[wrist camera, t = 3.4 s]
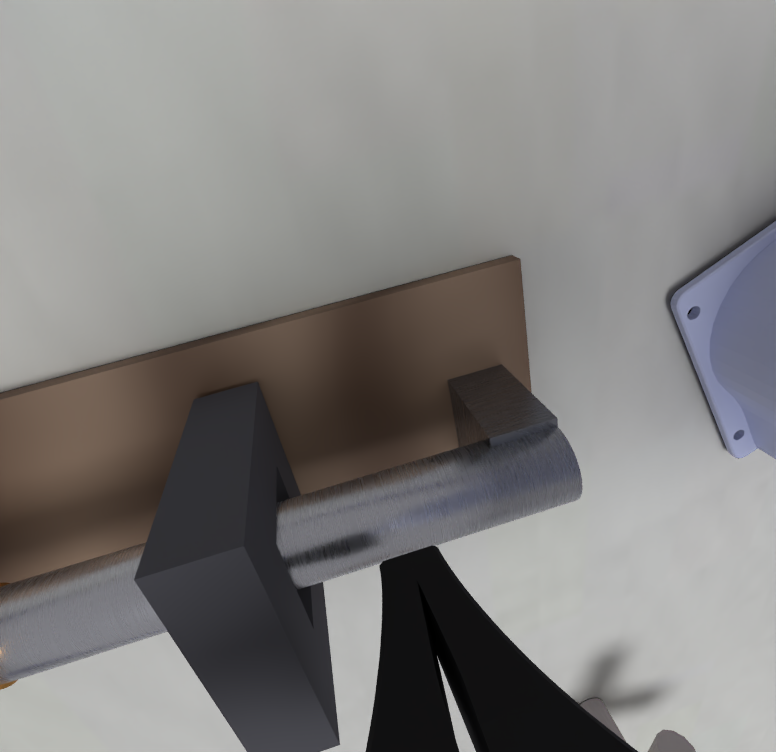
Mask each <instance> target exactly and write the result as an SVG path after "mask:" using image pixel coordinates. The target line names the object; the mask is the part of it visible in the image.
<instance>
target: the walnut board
mask: <svg viewBox="0 0 776 752" xmlns="http://www.w3.org/2000/svg"><path fill="white" fill-rule="evenodd" d="M500 364H502V365H503V366H504V367H505V368H506V369H507V370H508V371H509V372H510V373H511V374H512V375H513V376H514V377H515V378H516V379H518V380H519V381H520V382H521V383H522V384H523V385H524V386H525V387H526V388H527V389H528V390H529V391H530V392H531V382H530V370H529V358H528V345H527V333H526V321H525V309H524V297H523V285H522V273H521V261H520V259H519V258H517V257H515V256H513V255H512V256H508V257H504V258H500V259H497V260H493V261H489V262H486V263H482V264H478V265H474V266H471V267H467V268H463V269H460V270H456V271H452V272H448V273H445V274H441V275H437V276H434V277H430V278H426V279H422V280H419V281H415V282H411V283H408V284H404V285H400V286H396V287H393V288H389V289H385V290H382V291H378V292H374V293H370V294H367V295H363V296H359V297H356V298H352V299H348V300H344V301H341V302H337V303H333V304H330V305H326V306H322V307H318V308H315V309H311V310H307V311H304V312H300V313H296V314H292V315H289V316H285V317H281V318H278V319H274V320H270V321H266V322H263V323H259V324H255V325H252V326H248V327H244V328H240V329H237V330H233V331H229V332H226V333H222V334H218V335H214V336H211V337H207V338H203V339H200V340H196V341H192V342H188V343H185V344H181V345H177V346H174V347H170V348H166V349H163V350H159V351H155V352H151V353H148V354H144V355H140V356H137V357H133V358H129V359H125V360H122V361H118V362H114V363H111V364H107V365H103V366H99V367H96V368H92V369H88V370H85V371H81V372H77V373H73V374H70V375H66V376H62V377H59V378H55V379H51V380H47V381H44V382H40V383H36V384H33V385H29V386H25V387H21V388H18V389H14V390H10V391H7V392H3V393H0V583H14V582H17V581H20V580H24V579H27V578H30V577H33V576H37V575H40V574H43V573H47V572H50V571H53V570H57V569H60V568H63V567H66V566H70V565H73V564H76V563H80V562H83V561H86V560H89V559H93V558H96V557H99V556H103V555H106V554H109V553H113V552H116V551H119V550H122V549H126V548H129V547H132V546H136V545H139V544H142V543H146V542H147V539H148V536H149V533H150V530H151V527H152V524H153V521H154V518H155V515H156V512H157V509H158V506H159V503H160V500H161V497H162V494H163V491H164V488H165V485H166V481H167V478H168V475H169V472H170V469H171V466H172V463H173V460H174V457H175V454H176V451H177V448H178V445H179V442H180V439H181V436H182V433H183V430H184V427H185V424H186V421H187V418H188V415H189V412H190V409H191V406H192V403H193V400H194V399H197V398H200V397H204V396H208V395H211V394H215V393H218V392H222V391H225V390H229V389H233V388H236V387H240V386H243V385H247V384H250V383H254V382H258V384H259V386H260V389H261V391H262V394H263V397H264V399H265V402H266V405H267V407H268V410H269V412H270V415H271V418H272V420H273V423H274V426H275V428H276V431H277V433H278V436H279V439H280V441H281V444H282V447H283V449H284V452H285V454H286V457H287V460H288V462H289V465H290V468H291V470H292V473H293V475H294V478H295V481H296V483H297V486H298V489H299V491H300V494H301V495H304V494H307V493H310V492H314V491H317V490H320V489H324V488H327V487H330V486H333V485H337V484H340V483H343V482H347V481H350V480H353V479H356V478H360V477H363V476H366V475H370V474H373V473H376V472H380V471H383V470H386V469H389V468H393V467H396V466H399V465H403V464H406V463H409V462H412V461H416V460H419V459H422V458H426V457H429V456H432V455H436V454H439V453H442V452H445V451H449V450H452V449H455V448H459V444H458V438H457V432H456V426H455V421H454V415H453V409H452V403H451V397H450V392H449V386H448V380H449V379H452V378H455V377H459V376H462V375H466V374H469V373H473V372H476V371H480V370H483V369H487V368H490V367H493V366H497V365H500Z"/></svg>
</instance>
